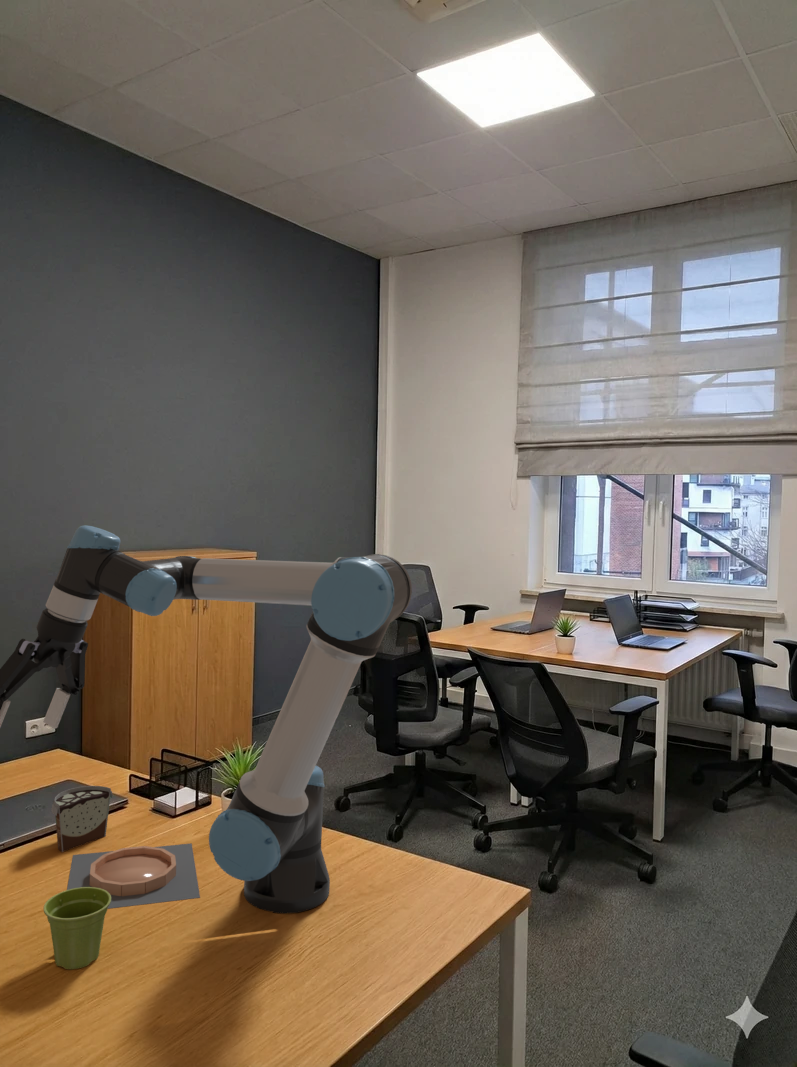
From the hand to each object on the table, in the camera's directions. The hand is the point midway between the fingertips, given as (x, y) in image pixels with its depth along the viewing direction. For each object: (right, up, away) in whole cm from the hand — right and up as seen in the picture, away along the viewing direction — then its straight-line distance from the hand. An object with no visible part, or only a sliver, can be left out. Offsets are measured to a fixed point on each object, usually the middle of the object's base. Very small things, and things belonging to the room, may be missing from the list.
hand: (20, 730), depth 134 cm
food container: (0, -28, +23) cm, 37 cm away
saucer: (+16, -29, +10) cm, 34 cm away
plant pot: (+16, -31, -16) cm, 38 cm away
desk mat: (+16, -29, +10) cm, 35 cm away
